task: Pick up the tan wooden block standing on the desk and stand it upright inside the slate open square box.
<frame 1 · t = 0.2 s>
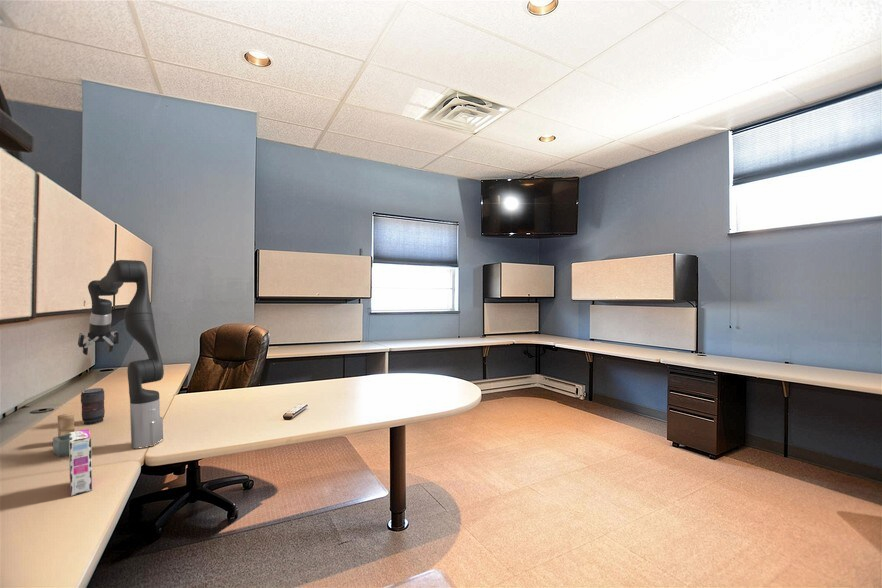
hand: (97, 352, 185), 31 cm above the table, tool tilted 20°, fingers open, 8 cm apart
slate open square box: (71, 450, 148), on the table
candy bar box: (81, 487, 120), on the table
camera lens: (93, 422, 180), on the table
tan wooden block: (66, 442, 156), on the table
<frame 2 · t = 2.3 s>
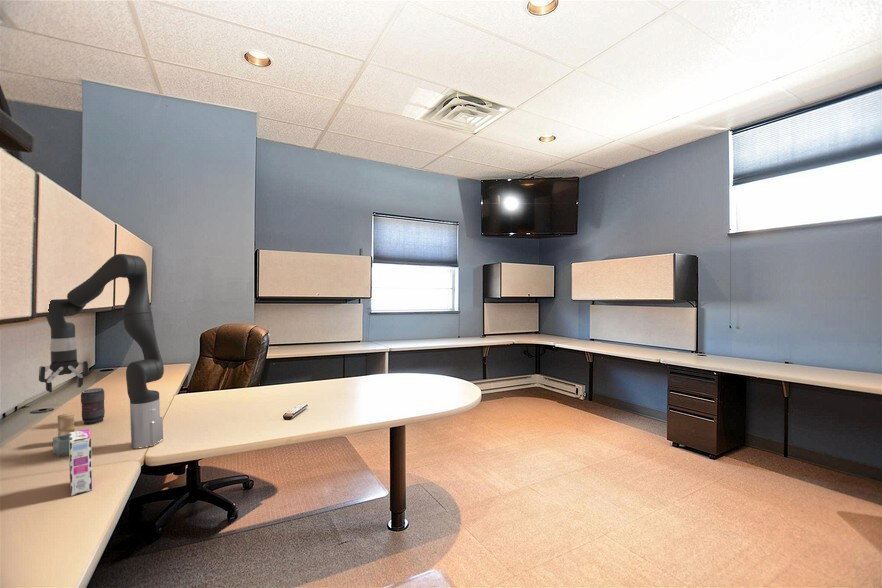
hand: (65, 389, 156), 21 cm above the table, tool pointing down, fingers open, 8 cm apart
nothing on the table moved.
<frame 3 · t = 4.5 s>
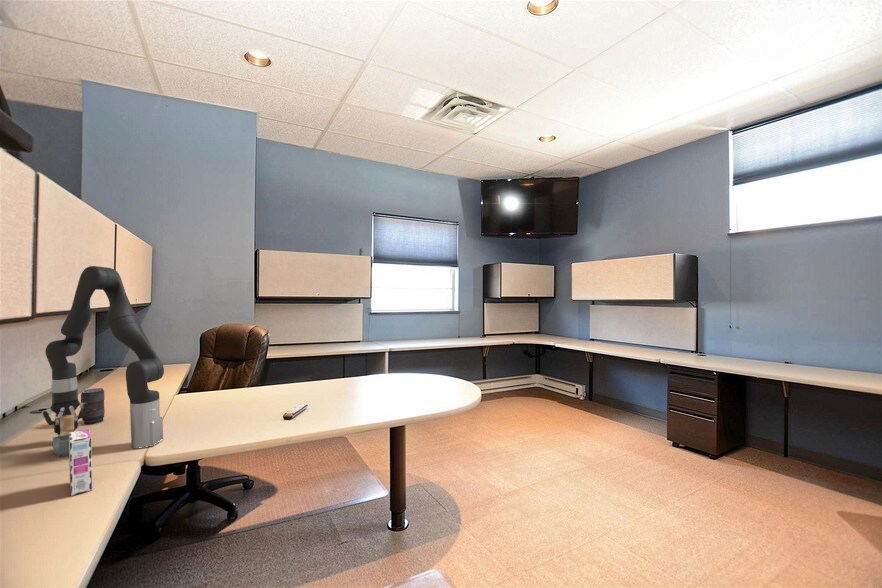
hand: (66, 431, 156), 4 cm above the table, tool pointing down, fingers closed on tan wooden block, 4 cm apart
tan wooden block: (66, 442, 156), on the table, touching gripper
everything else where it was.
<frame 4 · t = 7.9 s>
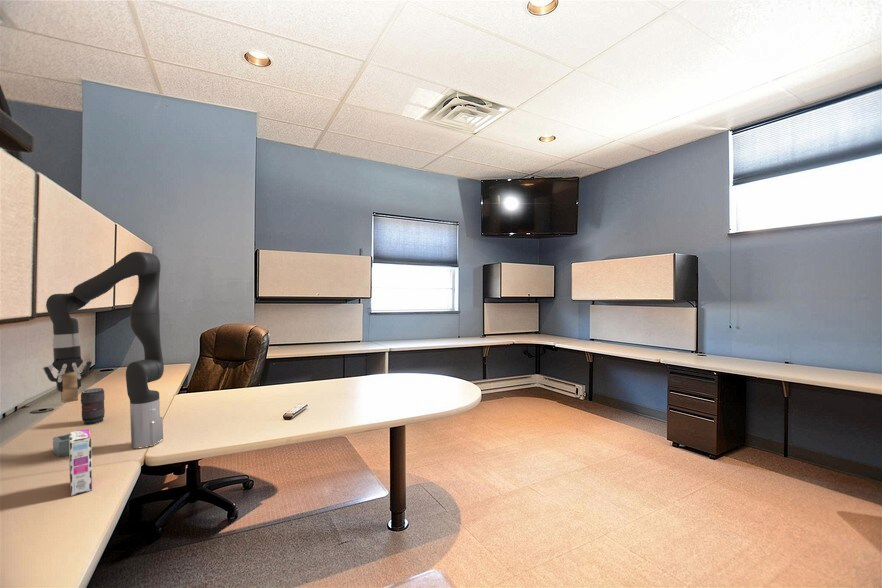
hand: (69, 389, 150), 23 cm above the table, tool pointing down, fingers closed on tan wooden block, 4 cm apart
tan wooden block: (69, 401, 150), point 18 cm above the table, touching gripper
everything else where it was.
when the fingers open (6 cm above the table, at t = 11.7 s): tan wooden block stays where it is, resting on slate open square box.
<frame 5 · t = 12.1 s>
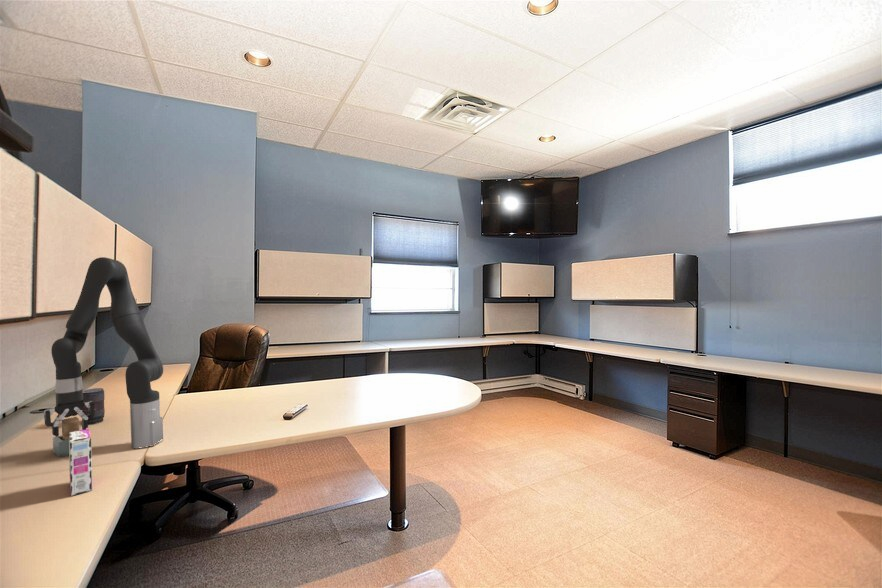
hand: (70, 432, 148), 7 cm above the table, tool pointing down, fingers open, 7 cm apart
tan wooden block: (71, 447, 148), point 1 cm above the table, touching slate open square box
everything else where it was.
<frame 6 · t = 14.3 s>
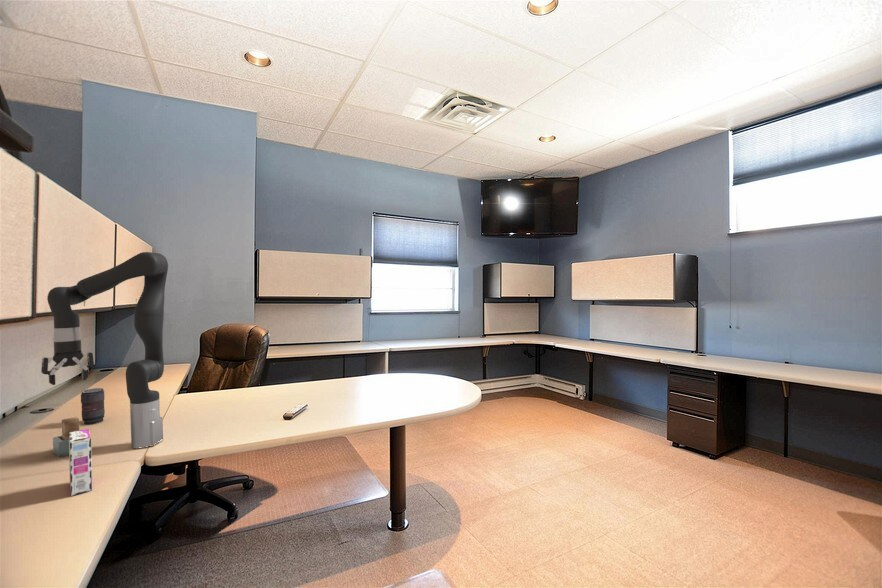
hand: (69, 382, 148), 26 cm above the table, tool pointing down, fingers open, 8 cm apart
nothing on the table moved.
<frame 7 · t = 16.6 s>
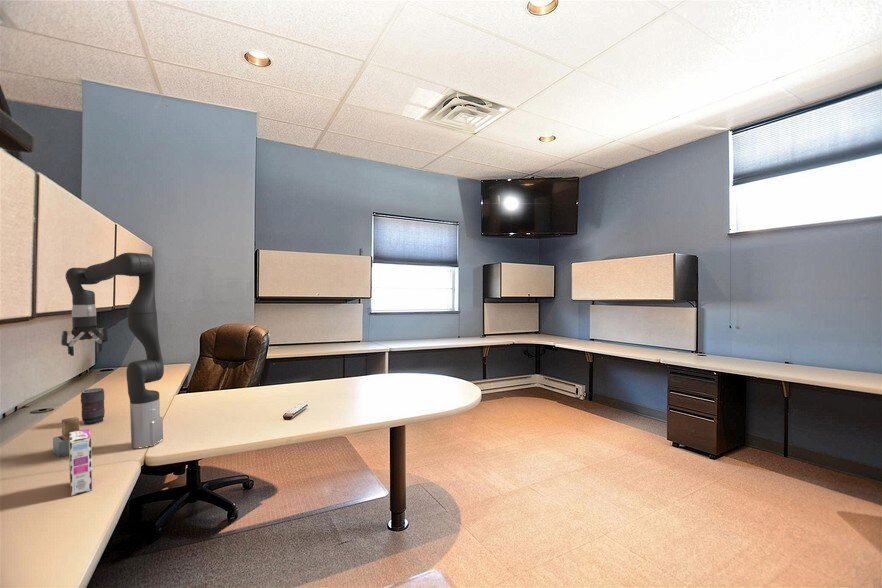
hand: (85, 354, 164), 34 cm above the table, tool pointing down, fingers open, 8 cm apart
nothing on the table moved.
at the end: tan wooden block 0.0 cm off-centre on the slate open square box, point 1.0 cm above the slate open square box's base; tan wooden block tilted 0°; the gripper is holding nothing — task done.
